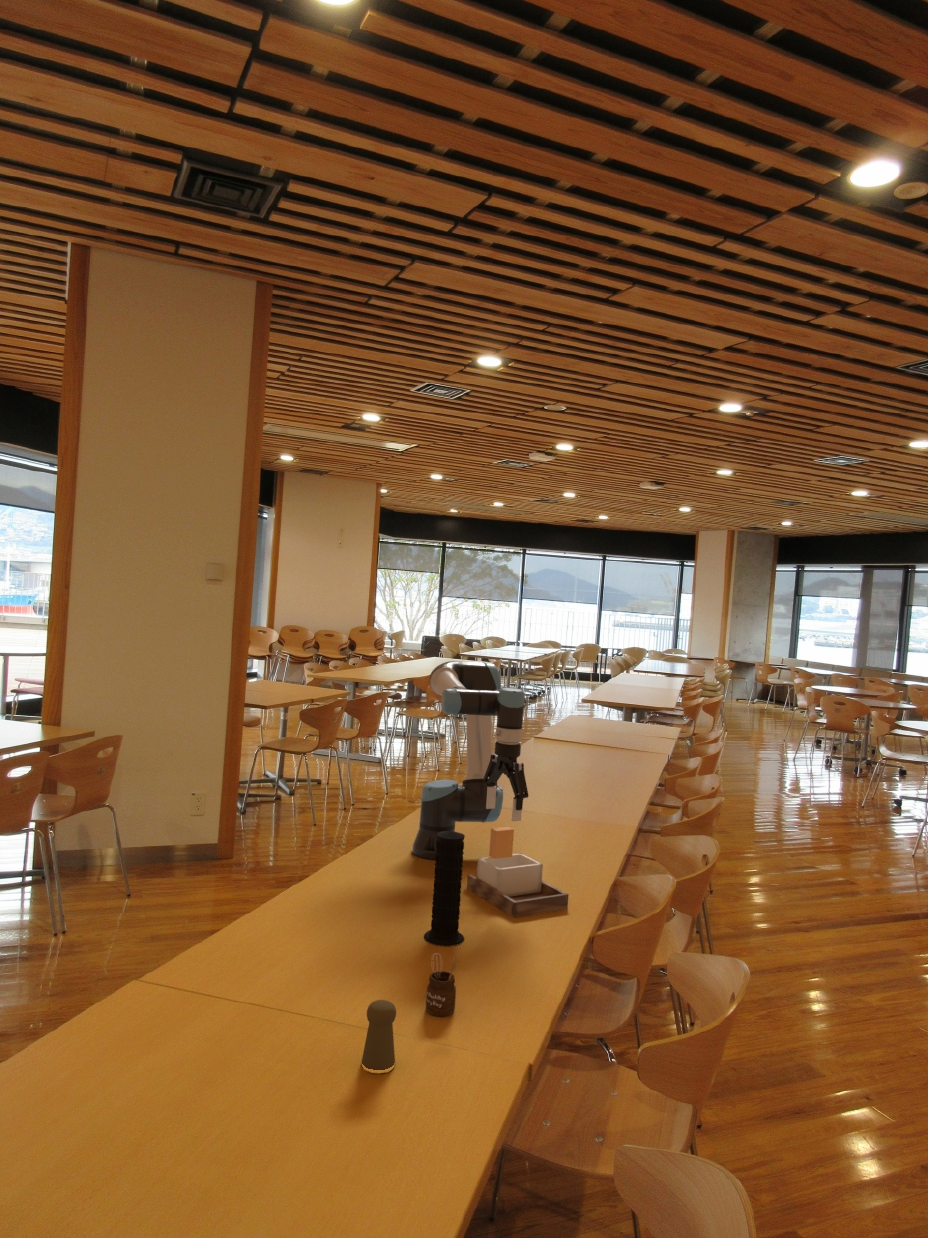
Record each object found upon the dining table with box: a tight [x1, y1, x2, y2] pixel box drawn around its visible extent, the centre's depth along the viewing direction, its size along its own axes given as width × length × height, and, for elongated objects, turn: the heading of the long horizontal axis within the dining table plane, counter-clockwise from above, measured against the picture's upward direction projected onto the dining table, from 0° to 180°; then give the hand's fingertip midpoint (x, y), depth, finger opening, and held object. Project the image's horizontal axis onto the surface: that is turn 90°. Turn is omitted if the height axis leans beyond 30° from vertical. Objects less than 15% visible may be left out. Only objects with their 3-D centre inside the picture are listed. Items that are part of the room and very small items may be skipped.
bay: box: [466, 873, 569, 918], centre depth 242 cm, size 24×18×4 cm
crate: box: [476, 826, 544, 897], centre depth 246 cm, size 12×15×16 cm
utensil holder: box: [425, 952, 460, 1018], centre depth 173 cm, size 6×6×12 cm
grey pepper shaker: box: [361, 999, 397, 1070], centre depth 152 cm, size 6×6×11 cm
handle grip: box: [423, 831, 466, 947], centre depth 210 cm, size 10×26×10 cm
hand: (503, 814), depth 250 cm, fingers open, 13 cm apart
